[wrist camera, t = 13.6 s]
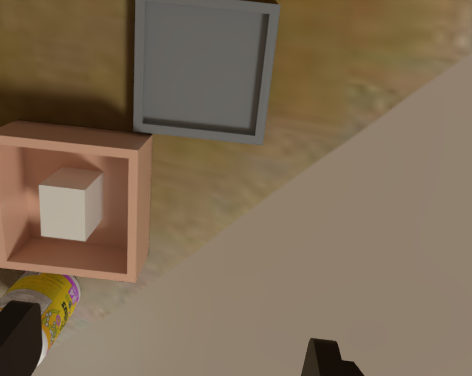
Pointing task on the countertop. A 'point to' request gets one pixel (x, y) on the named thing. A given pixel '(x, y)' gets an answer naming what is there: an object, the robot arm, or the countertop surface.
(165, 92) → the tray
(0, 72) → the countertop surface
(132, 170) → the bin
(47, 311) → the supplement bottle
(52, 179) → the cream rectangular block
